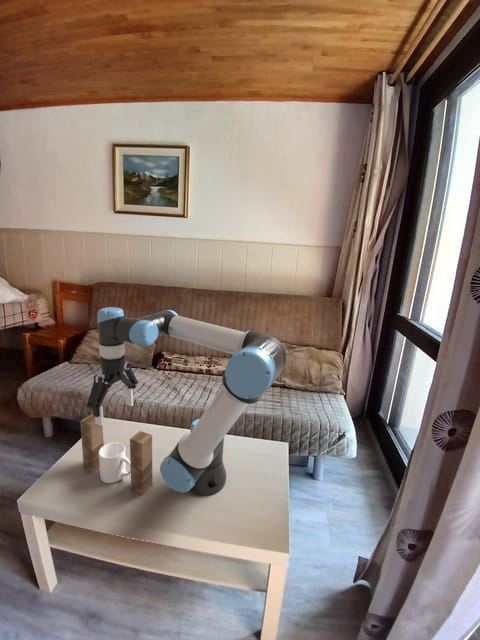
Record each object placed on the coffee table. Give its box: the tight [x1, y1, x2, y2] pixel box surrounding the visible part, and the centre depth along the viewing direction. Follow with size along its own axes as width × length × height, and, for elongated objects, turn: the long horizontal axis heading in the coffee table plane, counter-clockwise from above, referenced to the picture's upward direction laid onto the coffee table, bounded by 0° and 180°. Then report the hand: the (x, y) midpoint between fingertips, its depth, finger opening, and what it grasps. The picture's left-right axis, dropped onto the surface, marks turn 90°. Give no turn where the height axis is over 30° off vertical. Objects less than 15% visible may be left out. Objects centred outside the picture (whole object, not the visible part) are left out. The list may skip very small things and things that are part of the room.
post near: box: [129, 430, 153, 495], centre depth 104 cm, size 5×5×20 cm
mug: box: [99, 441, 131, 484], centre depth 109 cm, size 9×12×11 cm
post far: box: [79, 413, 105, 474], centre depth 112 cm, size 5×5×20 cm
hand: (115, 414), depth 104 cm, fingers open, 13 cm apart
